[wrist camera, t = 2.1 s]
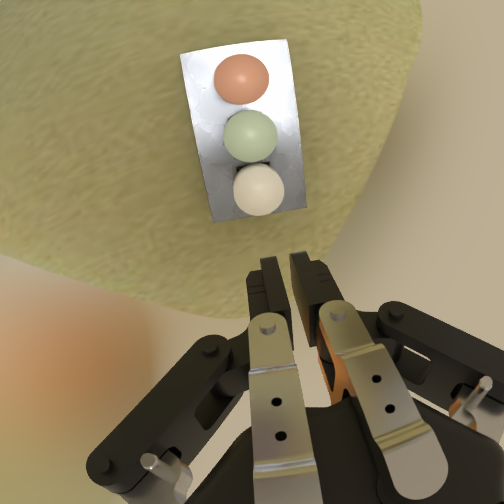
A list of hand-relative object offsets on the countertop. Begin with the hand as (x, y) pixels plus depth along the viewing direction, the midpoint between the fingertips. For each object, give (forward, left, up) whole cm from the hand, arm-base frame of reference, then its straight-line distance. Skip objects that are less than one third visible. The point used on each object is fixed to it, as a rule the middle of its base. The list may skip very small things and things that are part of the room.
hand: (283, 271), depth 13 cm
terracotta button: (-9, 0, -15) cm, 17 cm away
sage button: (-5, 0, -15) cm, 16 cm away
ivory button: (0, 0, -15) cm, 15 cm away
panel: (-4, 0, -17) cm, 18 cm away
